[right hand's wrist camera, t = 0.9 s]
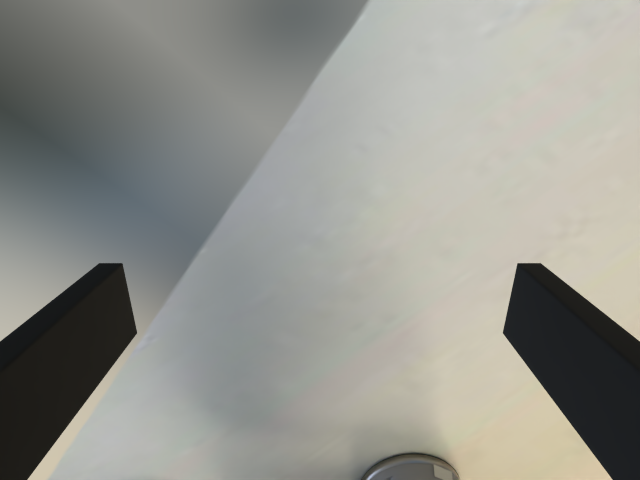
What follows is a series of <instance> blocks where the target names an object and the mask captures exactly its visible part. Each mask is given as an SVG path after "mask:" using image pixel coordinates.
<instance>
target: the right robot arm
mask: <svg viewBox="0 0 640 480" xmlns="http://www.w3.org/2000/svg"><path fill="white" fill-rule="evenodd" d="M136 334H137V330H136V326H135V321H134V316H133V311H132V307H131V302H130V297H129V292H128V288H127V283H126V278H125V273H124V269H123V264H122V263H99V264H98V265H97V266H95V267H94V268H93V269H92V270H90V271H89V272H88V273H86V274H85V275H84V276H83V277H81V278H80V279H79V280H78V281H76V282H75V283H74V284H73V285H71V286H70V287H69V288H67V289H66V290H65V291H64V292H63V293H61V294H60V295H59V296H57V297H56V298H55V299H54V300H52V301H51V302H50V303H49V304H47V305H46V306H45V307H43V308H42V309H41V310H40V311H38V312H37V313H36V314H35V315H33V316H32V317H31V318H30V319H28V320H27V321H26V322H24V323H23V324H22V325H21V326H20V327H18V328H17V329H16V330H14V331H13V332H12V333H11V334H9V335H8V336H7V337H5V338H4V339H3V340H2V341H0V480H27V479H28V478H29V477H30V475H31V474H32V473H33V471H34V470H35V469H36V467H37V466H38V464H39V463H40V462H41V461H42V459H43V458H44V457H45V455H46V454H47V453H48V451H49V450H50V448H51V447H52V446H53V445H54V443H55V442H56V441H57V439H58V438H59V437H60V435H61V434H62V433H63V431H64V430H65V429H66V427H67V426H68V425H69V423H70V422H71V421H72V419H73V418H74V416H75V415H76V414H77V413H78V411H79V410H80V408H81V407H82V406H83V405H84V403H85V402H86V400H87V399H88V398H89V397H90V395H91V394H92V393H93V391H94V390H95V389H96V387H97V386H98V385H99V383H100V382H101V381H102V379H103V378H104V377H105V375H106V374H107V373H108V371H109V370H110V368H111V367H112V366H113V365H114V363H115V362H116V361H117V359H118V358H119V357H120V355H121V354H122V353H123V351H124V350H125V348H126V347H127V346H128V344H129V343H130V342H131V340H132V339H133V338H134V337H135V335H136ZM503 334H504V335H505V337H506V338H507V339H508V341H509V342H510V343H511V345H512V346H513V347H514V349H515V350H516V351H517V353H518V354H519V355H520V357H521V358H522V359H523V361H524V362H525V363H526V365H527V366H528V367H529V369H530V370H531V371H532V373H533V374H534V375H535V377H536V378H537V379H538V381H539V382H540V383H541V385H542V386H543V387H544V389H545V390H546V391H547V393H548V394H549V395H550V397H551V398H552V399H553V401H554V402H555V403H556V405H557V406H558V407H559V409H560V410H561V411H562V413H563V414H564V415H565V417H566V418H567V419H568V421H569V422H570V423H571V425H572V426H573V427H574V429H575V430H576V431H577V433H578V434H579V435H580V437H581V438H582V439H583V441H584V442H585V443H586V445H587V446H588V447H589V449H590V450H591V451H592V453H593V454H594V455H595V457H596V458H597V459H598V461H599V462H600V463H601V465H602V466H603V467H604V469H605V470H606V471H607V473H608V474H609V475H610V477H611V478H612V479H613V480H640V341H638V340H637V339H636V338H635V337H633V336H632V335H631V334H629V333H628V332H627V331H626V330H624V329H623V328H622V327H621V326H619V325H618V324H617V323H616V322H614V321H613V320H612V319H610V318H609V317H608V316H607V315H605V314H604V313H603V312H602V311H600V310H599V309H598V308H597V307H595V306H594V305H593V304H591V303H590V302H589V301H588V300H586V299H585V298H584V297H583V296H581V295H580V294H579V293H578V292H576V291H575V290H574V289H573V288H571V287H570V286H569V285H567V284H566V283H565V282H564V281H562V280H561V279H560V278H559V277H557V276H556V275H555V274H554V273H552V272H551V271H550V270H548V269H547V268H546V267H545V266H543V265H542V264H541V263H518V264H517V269H516V273H515V278H514V283H513V288H512V292H511V297H510V302H509V307H508V311H507V316H506V321H505V325H504V330H503ZM362 480H460V479H459V476H458V474H457V473H456V471H455V470H454V469H453V468H452V467H451V466H450V465H449V464H447V463H446V462H444V461H442V460H440V459H438V458H435V457H432V456H427V455H420V454H407V455H400V456H395V457H392V458H389V459H386V460H384V461H382V462H380V463H378V464H376V465H375V466H374V467H372V468H371V469H370V470H369V471H368V472H367V473H366V474H365V475H364V477H363V478H362Z"/></svg>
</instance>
